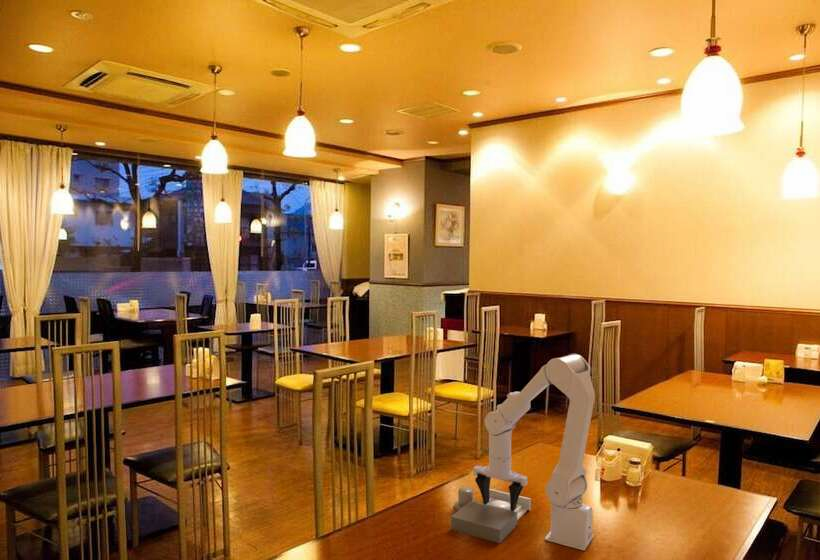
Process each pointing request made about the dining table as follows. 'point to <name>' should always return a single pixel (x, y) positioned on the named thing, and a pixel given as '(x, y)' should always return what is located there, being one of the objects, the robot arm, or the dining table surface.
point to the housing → (484, 521)
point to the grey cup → (464, 497)
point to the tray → (521, 506)
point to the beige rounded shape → (500, 504)
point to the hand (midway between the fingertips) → (499, 506)
